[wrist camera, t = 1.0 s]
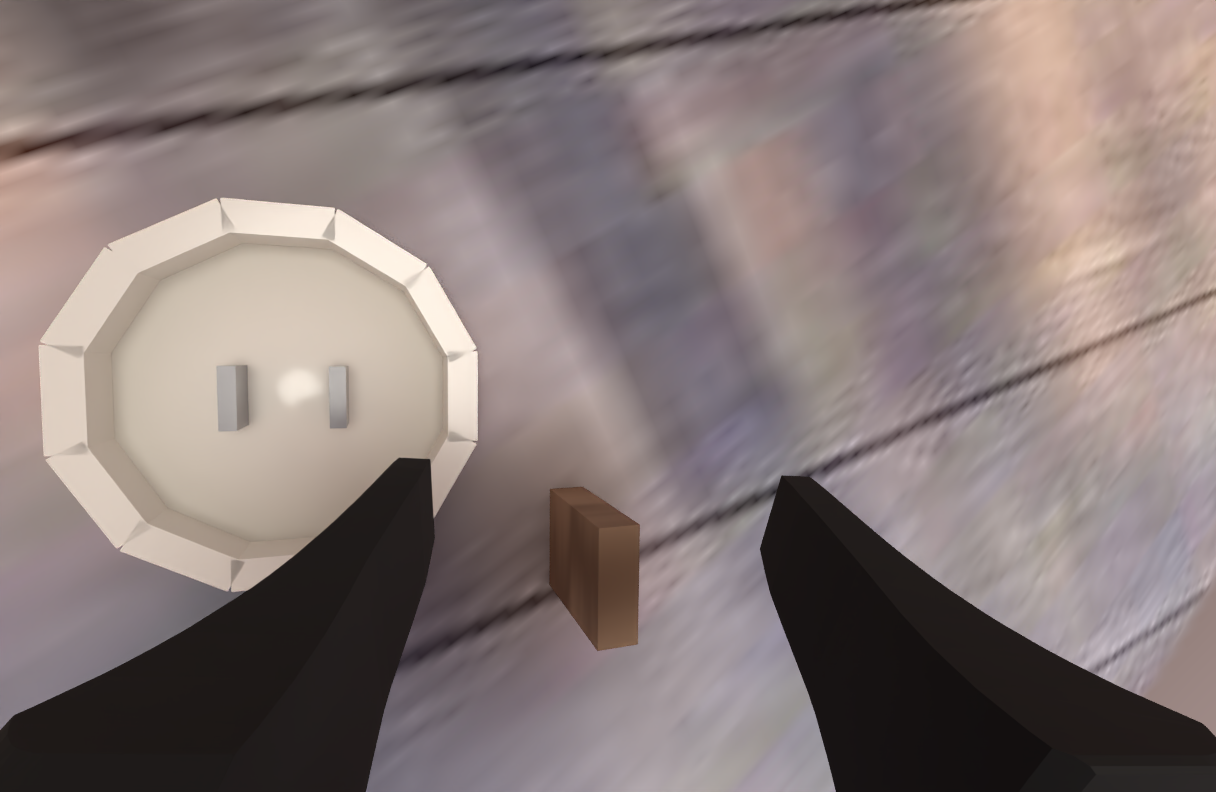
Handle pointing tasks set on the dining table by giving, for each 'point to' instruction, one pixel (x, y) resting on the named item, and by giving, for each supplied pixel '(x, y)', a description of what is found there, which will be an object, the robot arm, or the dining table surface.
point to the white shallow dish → (250, 384)
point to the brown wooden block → (595, 566)
